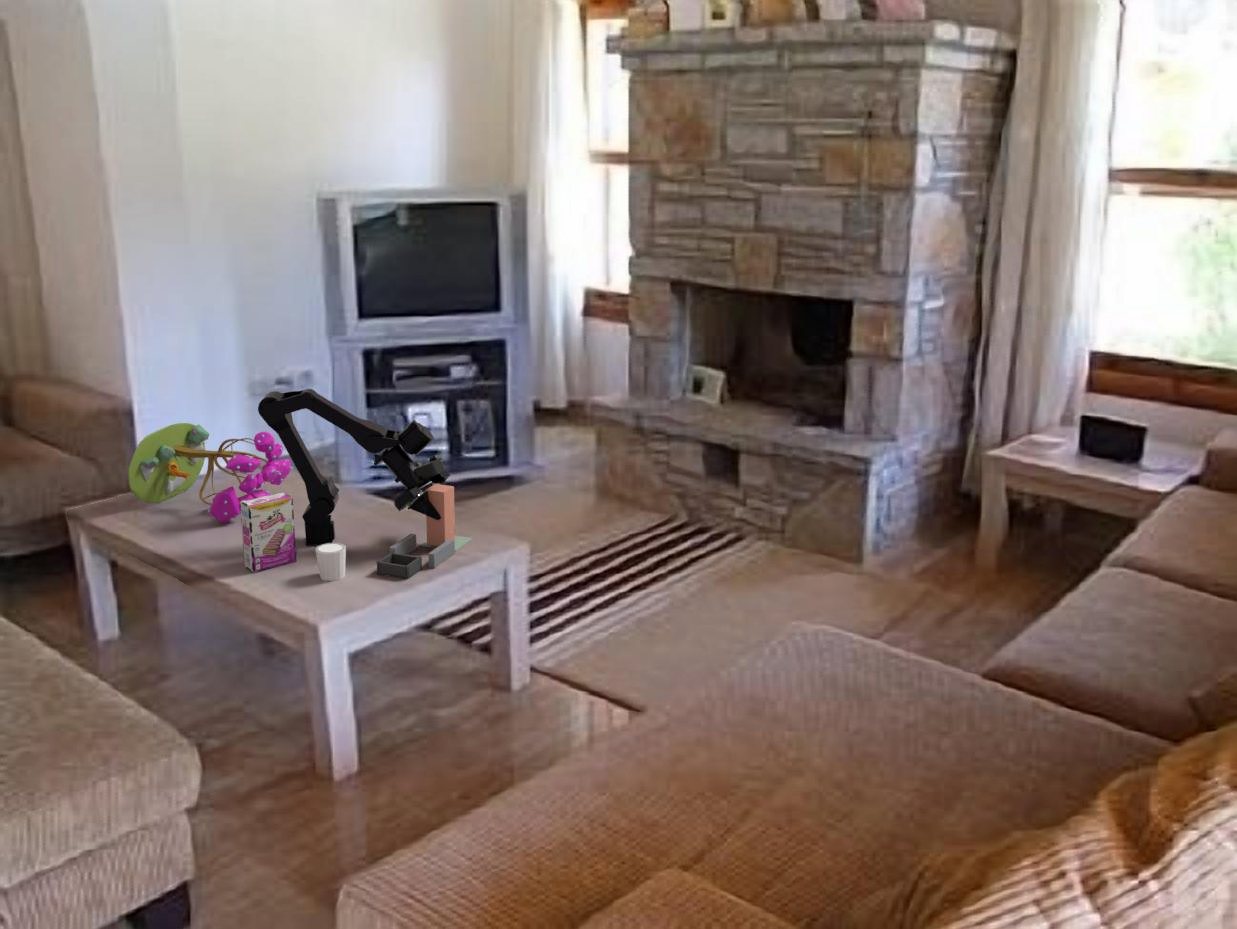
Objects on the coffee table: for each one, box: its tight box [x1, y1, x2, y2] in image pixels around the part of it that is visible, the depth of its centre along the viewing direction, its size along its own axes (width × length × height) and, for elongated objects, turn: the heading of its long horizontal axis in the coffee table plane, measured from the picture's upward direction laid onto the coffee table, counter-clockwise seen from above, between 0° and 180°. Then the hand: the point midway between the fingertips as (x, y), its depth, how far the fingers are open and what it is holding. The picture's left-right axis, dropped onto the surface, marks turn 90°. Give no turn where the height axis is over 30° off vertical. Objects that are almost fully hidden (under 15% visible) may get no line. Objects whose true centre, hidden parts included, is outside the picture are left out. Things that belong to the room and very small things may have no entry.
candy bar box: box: [240, 492, 297, 573], centre depth 270 cm, size 11×5×16 cm, turn 133°
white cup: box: [315, 542, 347, 582], centre depth 265 cm, size 7×7×7 cm
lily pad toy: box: [127, 422, 294, 524], centre depth 308 cm, size 30×28×35 cm
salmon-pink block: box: [425, 484, 456, 546], centre depth 283 cm, size 5×5×14 cm
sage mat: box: [419, 535, 474, 552], centre depth 287 cm, size 10×9×1 cm
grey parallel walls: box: [388, 533, 456, 569], centre depth 277 cm, size 12×10×4 cm
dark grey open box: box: [376, 553, 423, 580], centre depth 269 cm, size 8×6×3 cm
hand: (445, 515), depth 282 cm, fingers closed on salmon-pink block, 5 cm apart
